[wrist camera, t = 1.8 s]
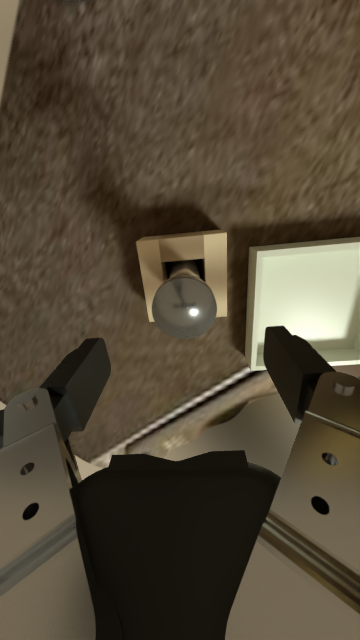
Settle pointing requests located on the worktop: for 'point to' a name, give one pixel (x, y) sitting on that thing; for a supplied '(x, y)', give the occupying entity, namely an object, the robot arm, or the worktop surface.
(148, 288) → the frame
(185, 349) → the worktop surface
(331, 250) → the parts tray
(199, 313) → the pin
